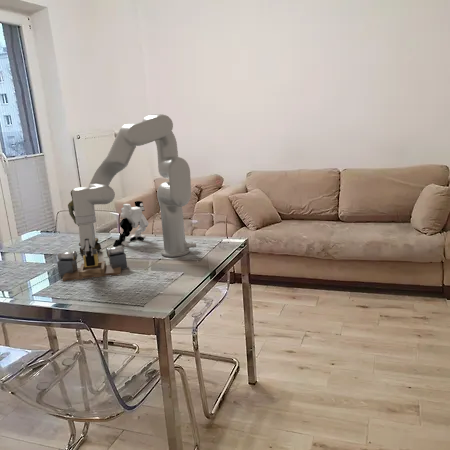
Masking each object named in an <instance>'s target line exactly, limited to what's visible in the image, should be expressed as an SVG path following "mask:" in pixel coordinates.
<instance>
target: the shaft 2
mask: <svg viewBox="0 0 450 450" xmlns="http://www.w3.org/2000/svg"><path fill="white" fill-rule="evenodd" d="M105 250H106V251H105V252H106V255H107V258H108V259H109V265H110V266H111V268H112V269H113V268H118V267H121V270H124V269H128V263H127V261H128V260H127V255H126V252H125V247H124V245H122V246H115V247H111V248H109V247H105Z"/></svg>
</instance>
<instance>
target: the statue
mask: <svg viewBox="0 0 450 450" xmlns="http://www.w3.org/2000/svg"><path fill="white" fill-rule="evenodd" d="M72 191H73V189H72V190H70V195H71V201H69V202H68V204H67V208H68V209H67V210H68V213H69V216H70V217H71V219H72V220H73V222H74V224H75V225H77V227H79V225H78V224H76V218H75V211H74V203H73V196H72ZM78 246H79V252H80V253H79V254H80V255H84V254H83V250H85V247H84V249H83V250H82V249H81V246H80V242H79V243H78ZM94 248H95V249H97V252H100V250H101V249H102V245H101V243H99V238H98V237H95V246H94Z"/></svg>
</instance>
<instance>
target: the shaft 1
mask: <svg viewBox="0 0 450 450" xmlns="http://www.w3.org/2000/svg"><path fill="white" fill-rule="evenodd" d="M57 259H58V260H57V261H56V265H57V269H58V275H59V277H63V276H64V274H65V273H74V272H75V271H76V270H77V269H78V268H79V267H78V261H77V259H78V253H77V251H76V250H75V251H74V250H73V251H71V252H58V254H57Z"/></svg>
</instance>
